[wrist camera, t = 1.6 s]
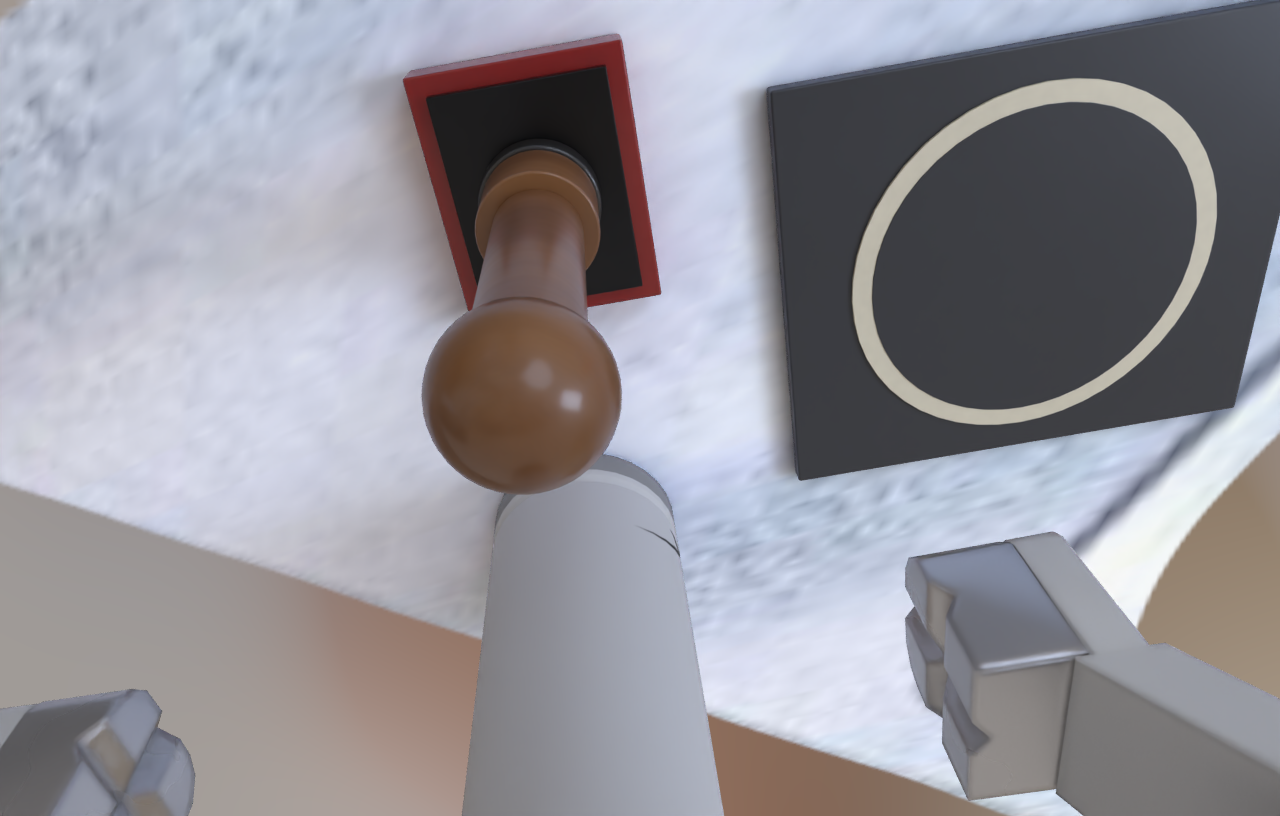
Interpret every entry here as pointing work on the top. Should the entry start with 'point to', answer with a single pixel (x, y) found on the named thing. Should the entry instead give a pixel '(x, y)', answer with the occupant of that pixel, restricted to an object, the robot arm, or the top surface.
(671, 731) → the travel mug
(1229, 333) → the dark grey square plate
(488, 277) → the dot stamp
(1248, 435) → the top surface
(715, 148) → the top surface
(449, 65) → the ink pad
